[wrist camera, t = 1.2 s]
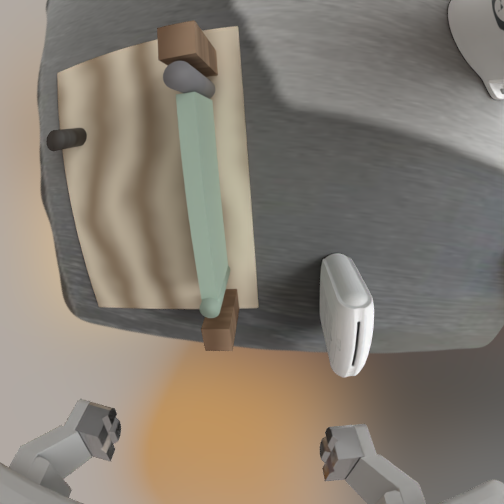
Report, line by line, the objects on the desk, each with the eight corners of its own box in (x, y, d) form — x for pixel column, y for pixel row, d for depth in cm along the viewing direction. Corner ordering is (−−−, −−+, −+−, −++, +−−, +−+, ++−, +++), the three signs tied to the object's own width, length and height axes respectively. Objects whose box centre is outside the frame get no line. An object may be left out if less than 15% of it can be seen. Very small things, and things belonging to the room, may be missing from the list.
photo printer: (347, 319, 40) (369, 383, 28) (317, 321, 40) (330, 388, 29) (352, 251, 36) (385, 305, 24) (318, 253, 36) (339, 310, 25)
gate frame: (238, 27, 26) (224, -13, 16) (258, 305, 39) (254, 363, 29) (59, 73, 28) (3, 67, 18) (100, 304, 41) (65, 349, 31)
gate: (192, 81, 28) (162, 63, 19) (214, 78, 28) (192, 58, 19) (213, 277, 37) (196, 325, 28) (232, 276, 37) (221, 325, 28)
